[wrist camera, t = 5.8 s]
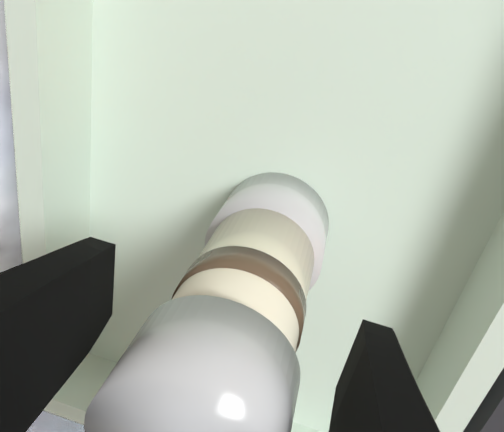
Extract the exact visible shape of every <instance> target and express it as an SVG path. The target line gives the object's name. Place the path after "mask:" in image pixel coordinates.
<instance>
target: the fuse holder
mask: <svg viewBox="0 0 504 432" xmlns="http://www.w3.org/2000/svg"><path fill="white" fill-rule="evenodd" d="M463 432H504V368H503V370H502V371H501V373H500V374H499V376H498V377H497V379H496V381H495V382H494V384H493V385H492V387H491V388H490V390H489V392H488V393H487V395H486V396H485V398H484V399H483V401H482V403H481V404H480V406H479V407H478V409H477V410H476V412H475V414H474V415H473V417H472V418H471V420H470V421H469V423H468V425H467V426H466V428H465V429H464V431H463Z"/></svg>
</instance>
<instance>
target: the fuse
mask: <svg viewBox="0 0 504 432" xmlns="http://www.w3.org/2000/svg"><path fill="white" fill-rule="evenodd" d="M328 230H329V217H328V213H327V209H326V207H325V204H324V203H323V201H322V199H321V198H320V196H319V195H318V193H317V192H316V191H315V190H314V189H313V188H312V187H311V186H309V185H308V184H307V183H305V182H304V181H302V180H300V179H298V178H296V177H294V176H291V175H288V174H283V173H276V172H268V173H261V174H257V175H254V176H251V177H249V178H247V179H245V180H244V181H242V182H241V183H240V184H239V185H238V186H237V187H236V188H235V189H234V190H233V191H232V193H231V194H230V196H229V197H228V199H227V200H226V202H225V203H224V205H223V206H222V208H221V209H220V211H219V212H218V214H217V215H216V217H215V218H214V220H213V221H212V223H211V224H210V226H209V228H208V231H207V233H206V237H205V248H204V249H203V251H202V253H201V254H200V256H199V257H198V258H197V259H196V260H195V261H194V262H193V263H192V264H191V266H190V267H189V269H188V270H187V272H186V274H185V275H184V277H183V278H182V280H181V281H180V283H179V284H178V286H177V288H176V289H175V291H174V293H173V296H172V299H171V300H170V301H168V302H166V303H164V304H162V305H161V306H159V307H158V308H157V309H155V310H154V311H153V312H152V313H151V314H150V315H149V317H148V318H147V319H146V321H145V322H144V324H143V325H142V327H141V328H140V330H139V331H138V333H137V334H136V336H135V337H134V339H133V340H132V342H131V343H130V345H129V346H128V348H127V349H126V350H125V352H124V353H123V355H122V356H121V358H120V359H119V361H118V362H117V364H116V365H115V367H114V368H113V370H112V371H111V373H110V374H109V376H108V377H107V379H106V380H105V382H104V383H103V385H102V386H101V388H100V389H99V391H98V392H97V394H96V395H95V397H94V398H93V400H92V401H91V403H90V404H89V406H88V408H87V411H86V414H85V420H84V429H85V432H291V429H292V423H293V418H294V413H295V407H296V402H297V397H298V391H299V386H300V376H301V373H300V365H299V362H298V358H297V355H296V351H297V349H298V347H299V344H300V340H301V335H302V331H303V326H304V321H305V316H306V301H307V296H308V291H309V290H310V289H311V288H312V287H313V286H314V284H315V283H316V281H317V279H318V277H319V275H320V272H321V268H322V262H323V257H324V252H325V246H326V241H327V236H328Z"/></svg>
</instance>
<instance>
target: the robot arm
mask: <svg viewBox="0 0 504 432" xmlns="http://www.w3.org/2000/svg"><path fill="white" fill-rule="evenodd" d="M115 248H116V244H113V243H110V242H106V241H103V240H100V239H96V238H93V237H89V238H86V239H83V240H80V241H77V242H75V243H72V244H70V245H67V246H65V247H62V248H60V249H58V250H55V251H53V252H50V253H48V254H46V255H43V256H41V257H38V258H36V259H33V260H31V261H28V262H26V263H24V264H21V265H19V266H16V267H14V268H11V269H9V270H6V271H4V272H1V273H0V432H26V431H27V429H28V428H29V427H30V426H31V425H32V423H33V422H34V421H35V420H36V418H37V417H38V416H39V415H40V413H41V412H42V411H43V410H44V408H45V407H46V406H47V405H48V403H49V402H50V401H51V400H52V398H53V397H54V396H55V395H56V394H57V392H58V391H59V390H60V389H61V387H62V386H63V385H64V384H65V382H66V381H67V380H68V379H69V377H70V376H71V375H72V374H73V372H74V371H75V370H76V369H77V367H78V366H79V365H80V364H81V362H82V361H83V360H84V358H85V357H86V356H87V355H88V353H89V352H90V350H91V349H92V347H93V346H94V344H95V342H96V341H97V339H98V338H99V336H100V334H101V333H102V331H103V329H104V328H105V326H106V324H107V323H108V321H109V319H110V318H111V316H112V310H113V289H114V269H115ZM329 432H440V430H439V428H438V426H437V424H436V422H435V420H434V418H433V416H432V414H431V412H430V410H429V408H428V406H427V404H426V402H425V400H424V398H423V396H422V394H421V392H420V390H419V387H418V385H417V383H416V381H415V379H414V376H413V374H412V372H411V370H410V367H409V365H408V363H407V360H406V358H405V356H404V353H403V351H402V349H401V346H400V344H399V341H398V339H397V336H396V334H395V332H394V330H393V329H392V328H390V327H387V326H384V325H380V324H377V323H374V322H370V321H367V320H364V319H363V320H362V323H361V325H360V328H359V330H358V333H357V335H356V338H355V340H354V343H353V345H352V348H351V350H350V353H349V355H348V358H347V360H346V363H345V365H344V368H343V370H342V373H341V375H340V378H339V380H338V383H337V385H336V389H335V396H334V402H333V408H332V414H331V420H330V427H329Z"/></svg>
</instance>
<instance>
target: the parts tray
mask: <svg viewBox="0 0 504 432" xmlns="http://www.w3.org/2000/svg"><path fill="white" fill-rule="evenodd" d="M4 9H5V23H6V37H7V51H8V65H9V80H10V94H11V108H12V122H13V136H14V150H15V164H16V178H17V192H18V206H19V220H20V235H21V249H22V263H23V264H24V263H26V262H28V261H31V260H33V259H36V258H38V257H41V256H43V255H46V254H48V253H50V252H53V251H55V250H58V249H60V248H62V247H65V246H67V245H70V244H72V243H75V242H77V241H80V240H83V239H86V238H89V237H93V238H96V239H100V240H103V241H106V242H110V243H113V244H116V248H115V269H114V289H113V310H112V316H111V318H110V319H109V321H108V323H107V324H106V326H105V328H104V329H103V331H102V333H101V334H100V336H99V338H98V339H97V341H96V342H95V344H94V346H93V347H92V349H91V350H90V352H89V353H88V355H87V356H86V357H85V358H84V360H83V361H82V362H81V364H80V365H79V366H78V367H77V369H76V370H75V371H74V372H73V374H72V375H71V376H70V377H69V379H68V380H67V381H66V382H65V384H64V385H63V386H62V387H61V389H60V390H59V391H58V392H57V394H56V395H55V396H54V397H53V398H52V400H51V401H50V402H49V403H48V405H47V406H46V407H45V408H44V410H43V411H46V412H49V413H52V414H55V415H57V416H60V417H63V418H66V419H69V420H71V421H74V422H77V423H80V424H83V425H84V420H85V414H86V411H87V408H88V406H89V404H90V403H91V401H92V400H93V398H94V397H95V395H96V394H97V392H98V391H99V389H100V388H101V386H102V385H103V383H104V382H105V380H106V379H107V377H108V376H109V374H110V373H111V371H112V370H113V368H114V367H115V365H116V364H117V362H118V361H119V359H120V358H121V356H122V355H123V353H124V352H125V350H126V349H127V348H128V346H129V345H130V343H131V342H132V340H133V339H134V337H135V336H136V334H137V333H138V331H139V330H140V328H141V327H142V325H143V324H144V322H145V321H146V319H147V318H148V317H149V315H150V314H151V313H152V312H153V311H154V310H155V309H157V308H158V307H159V306H161V305H162V304H164V303H166V302H168V301H170V300H171V299H172V296H173V293H174V291H175V289H176V288H177V286H178V284H179V283H180V281H181V280H182V278H183V277H184V275H185V274H186V272H187V270H188V269H189V267H190V266H191V264H192V263H193V262H194V261H195V260H196V259H197V258H198V257H199V256H200V254H201V253H202V251H203V249H204V248H205V237H206V233H207V231H208V228H209V226H210V224H211V223H212V221H213V220H214V218H215V217H216V215H217V214H218V212H219V211H220V209H221V208H222V206H223V205H224V203H225V202H226V200H227V199H228V197H229V196H230V194H231V193H232V191H233V190H234V189H235V188H236V187H237V186H238V185H239V184H240V183H241V182H242V181H244V180H245V179H247V178H249V177H251V176H254V175H257V174H261V173H268V172H276V173H283V174H288V175H291V176H294V177H296V178H298V179H300V180H302V181H304V182H305V183H307V184H308V185H309V186H311V187H312V188H313V189H314V190H315V191H316V192H317V193H318V195H319V196H320V198H321V199H322V201H323V203H324V204H325V207H326V209H327V213H328V217H329V230H328V236H327V241H326V246H325V252H324V257H323V262H322V268H321V272H320V275H319V277H318V279H317V281H316V283H315V284H314V286H313V287H312V288H311V289H310V290H309V291H308V296H307V301H306V316H305V321H304V326H303V331H302V335H301V340H300V344H299V347H298V349H297V351H296V355H297V358H298V362H299V365H300V373H301V376H300V386H299V391H298V397H297V402H296V407H295V413H294V418H293V423H292V429H291V432H329V427H330V420H331V414H332V408H333V402H334V396H335V389H336V385H337V383H338V380H339V378H340V375H341V373H342V370H343V368H344V365H345V363H346V360H347V358H348V355H349V353H350V350H351V348H352V345H353V343H354V340H355V338H356V335H357V333H358V330H359V328H360V325H361V323H362V320H363V319H364V320H367V321H370V322H374V323H377V324H380V325H384V326H387V327H390V328H392V329H393V330H394V332H395V334H396V336H397V339H398V341H399V344H400V346H401V349H402V351H403V353H404V356H405V358H406V360H407V363H408V365H409V367H410V370H411V372H412V374H413V376H414V379H415V381H416V383H417V385H418V387H419V390H420V392H421V394H422V396H423V398H424V400H425V402H426V404H427V406H428V408H429V410H430V412H431V414H432V416H433V418H434V420H435V422H436V424H437V426H438V428H439V430H440V432H463V431H464V429H465V428H466V426H467V425H468V423H469V421H470V420H471V418H472V417H473V415H474V414H475V412H476V410H477V409H478V407H479V406H480V404H481V403H482V401H483V399H484V398H485V396H486V395H487V393H488V392H489V390H490V388H491V387H492V385H493V384H494V382H495V381H496V379H497V377H498V376H499V374H500V373H501V371H502V370H503V368H504V0H4Z"/></svg>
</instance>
